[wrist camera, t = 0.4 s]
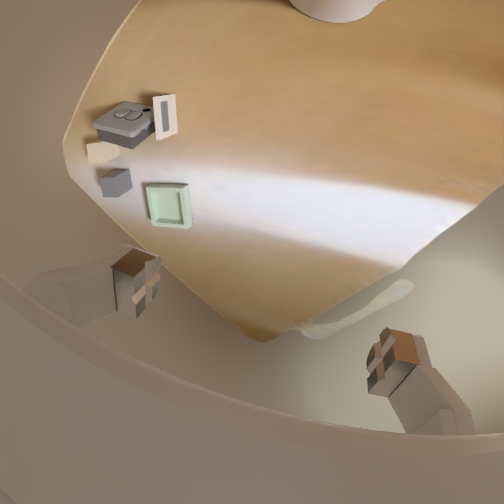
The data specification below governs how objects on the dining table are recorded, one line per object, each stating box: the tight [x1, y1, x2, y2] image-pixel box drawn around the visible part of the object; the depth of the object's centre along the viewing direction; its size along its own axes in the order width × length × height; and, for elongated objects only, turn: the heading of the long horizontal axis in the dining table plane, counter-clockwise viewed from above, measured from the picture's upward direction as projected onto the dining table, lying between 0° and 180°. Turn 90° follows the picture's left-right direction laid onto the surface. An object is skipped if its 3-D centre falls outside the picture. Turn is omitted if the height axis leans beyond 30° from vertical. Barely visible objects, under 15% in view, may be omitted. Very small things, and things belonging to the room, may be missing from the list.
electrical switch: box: [92, 102, 156, 149], centre depth 41 cm, size 9×5×9 cm, turn 73°
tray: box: [146, 183, 193, 229], centre depth 52 cm, size 8×8×2 cm
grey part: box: [99, 169, 132, 197], centre depth 50 cm, size 4×4×5 cm
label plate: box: [153, 94, 178, 140], centre depth 40 cm, size 7×1×6 cm, turn 1°
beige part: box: [86, 140, 119, 164], centre depth 47 cm, size 4×4×5 cm
